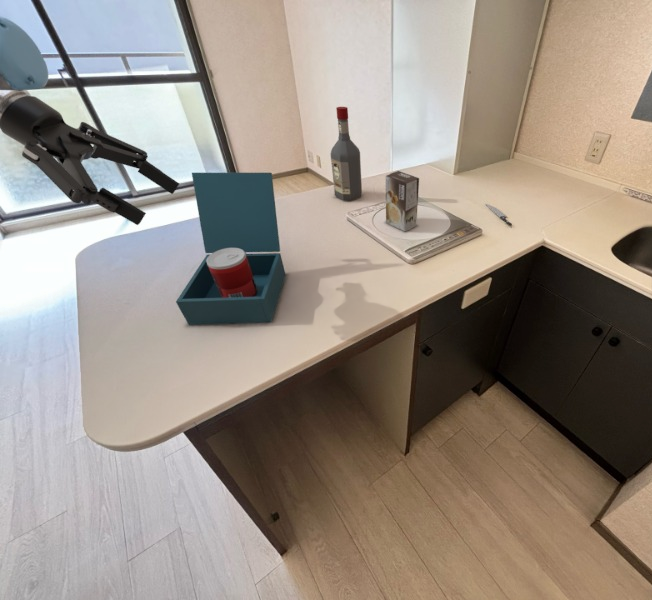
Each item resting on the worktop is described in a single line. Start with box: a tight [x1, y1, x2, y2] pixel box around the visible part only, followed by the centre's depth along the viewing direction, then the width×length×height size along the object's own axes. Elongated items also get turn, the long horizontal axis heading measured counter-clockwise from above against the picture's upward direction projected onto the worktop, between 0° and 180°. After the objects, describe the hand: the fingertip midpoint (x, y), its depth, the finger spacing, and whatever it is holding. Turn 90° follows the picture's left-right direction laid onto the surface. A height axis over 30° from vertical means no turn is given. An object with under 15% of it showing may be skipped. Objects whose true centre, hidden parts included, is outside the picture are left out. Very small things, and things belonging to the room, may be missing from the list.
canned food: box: [206, 248, 257, 298], centre depth 75 cm, size 8×8×11 cm
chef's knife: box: [485, 203, 513, 227], centre depth 117 cm, size 19×1×3 cm
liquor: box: [330, 106, 363, 202], centre depth 116 cm, size 9×9×30 cm
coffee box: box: [385, 170, 420, 232], centre depth 105 cm, size 9×6×16 cm
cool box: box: [175, 252, 287, 326], centre depth 77 cm, size 18×18×7 cm
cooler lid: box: [191, 172, 281, 254], centre depth 80 cm, size 19×18×5 cm
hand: (160, 203), depth 62 cm, fingers open, 13 cm apart
